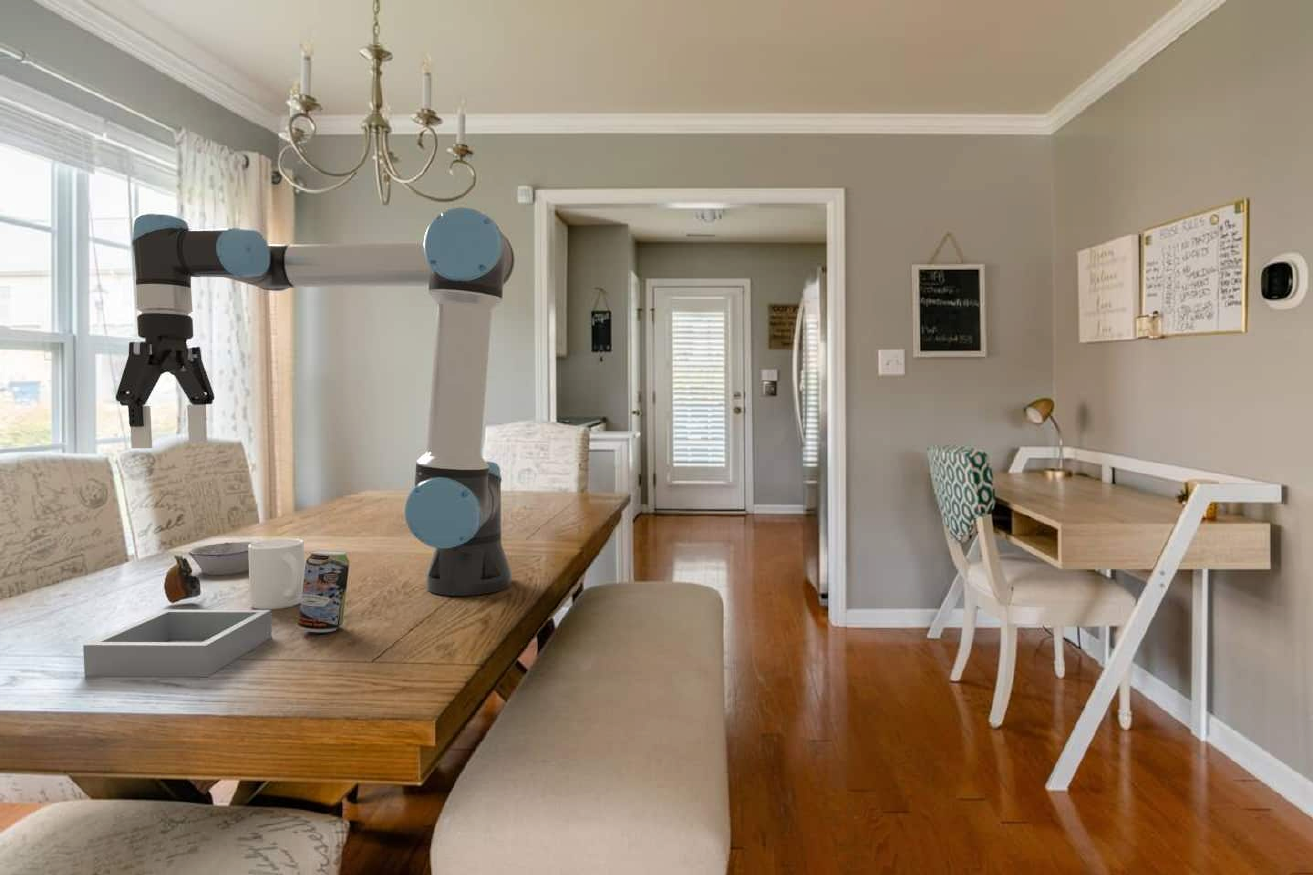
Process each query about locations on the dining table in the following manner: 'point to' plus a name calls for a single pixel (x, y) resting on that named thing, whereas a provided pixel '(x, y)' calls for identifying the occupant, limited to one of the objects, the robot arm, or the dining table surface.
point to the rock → (181, 582)
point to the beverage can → (324, 591)
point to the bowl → (222, 558)
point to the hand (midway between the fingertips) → (171, 445)
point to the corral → (177, 644)
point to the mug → (276, 573)
